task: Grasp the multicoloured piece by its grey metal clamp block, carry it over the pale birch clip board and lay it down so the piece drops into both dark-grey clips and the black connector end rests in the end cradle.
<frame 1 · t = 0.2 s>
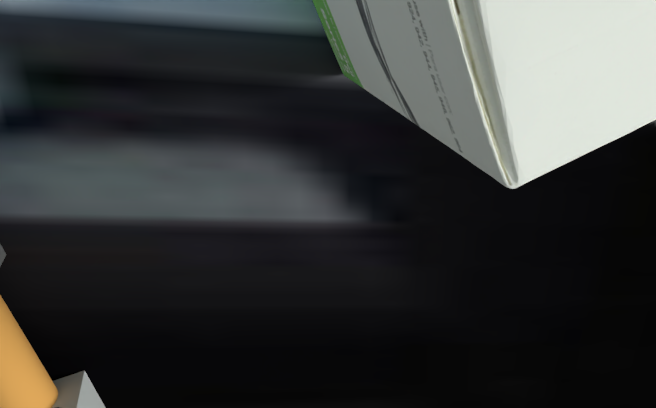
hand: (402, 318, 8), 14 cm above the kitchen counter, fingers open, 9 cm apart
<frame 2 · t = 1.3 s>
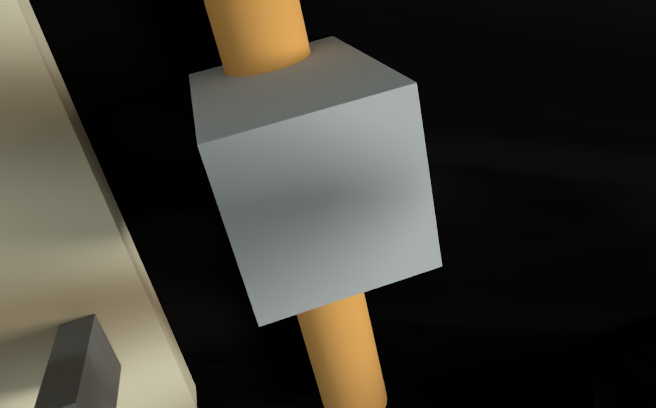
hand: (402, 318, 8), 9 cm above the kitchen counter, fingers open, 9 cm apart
multicoloured piece: (280, 124, 16), on the kitchen counter
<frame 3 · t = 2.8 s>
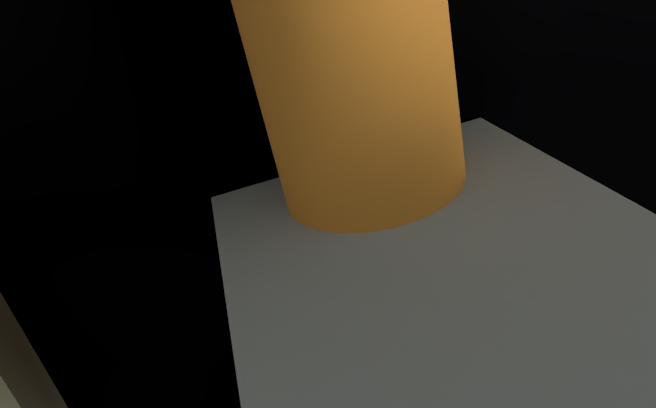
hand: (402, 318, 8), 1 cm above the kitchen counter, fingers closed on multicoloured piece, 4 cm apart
multicoloured piece: (374, 272, 9), on the kitchen counter, touching gripper
when the fingers open (3 cm above the kitchen counter, at t = 6.5 s): multicoloured piece stays where it is, resting on clip board.
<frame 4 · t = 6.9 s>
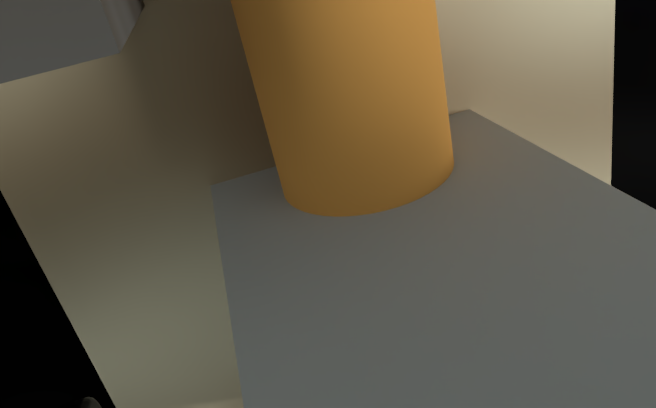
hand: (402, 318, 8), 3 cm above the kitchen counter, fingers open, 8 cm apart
multicoloured piece: (367, 259, 9), point 1 cm above the kitchen counter, touching clip board
clip board: (324, 129, 9), on the kitchen counter
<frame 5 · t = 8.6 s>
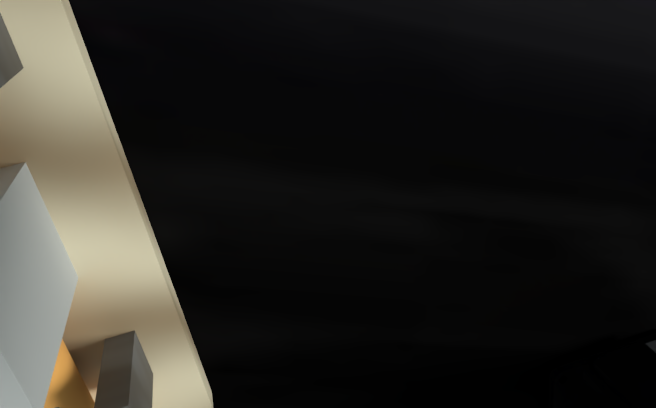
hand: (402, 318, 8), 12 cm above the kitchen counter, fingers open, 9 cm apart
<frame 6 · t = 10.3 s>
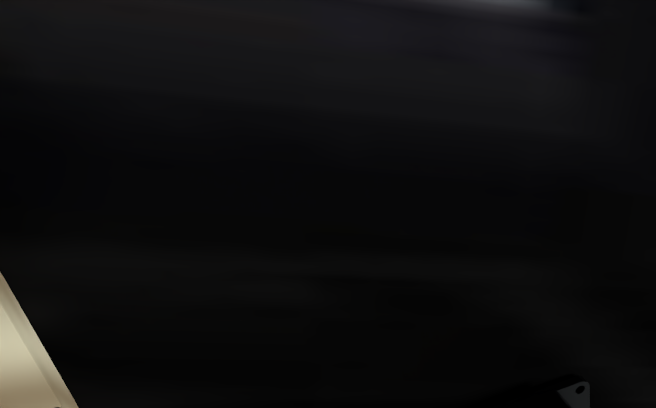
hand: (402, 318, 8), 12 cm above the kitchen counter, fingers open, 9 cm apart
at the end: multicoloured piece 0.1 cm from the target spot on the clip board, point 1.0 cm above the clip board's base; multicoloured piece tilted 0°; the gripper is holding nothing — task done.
